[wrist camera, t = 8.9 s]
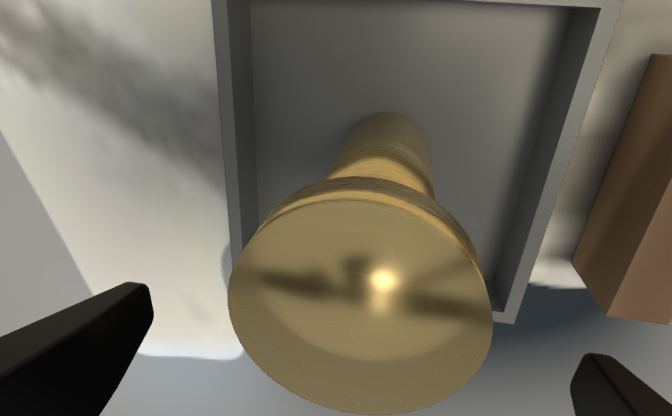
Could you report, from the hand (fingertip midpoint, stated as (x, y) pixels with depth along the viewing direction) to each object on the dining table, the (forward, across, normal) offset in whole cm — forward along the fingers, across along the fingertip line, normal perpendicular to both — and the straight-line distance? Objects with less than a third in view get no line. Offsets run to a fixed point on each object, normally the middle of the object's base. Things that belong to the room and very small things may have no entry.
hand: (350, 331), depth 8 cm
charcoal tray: (+12, 0, 0) cm, 12 cm away
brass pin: (+12, 0, 0) cm, 12 cm away
